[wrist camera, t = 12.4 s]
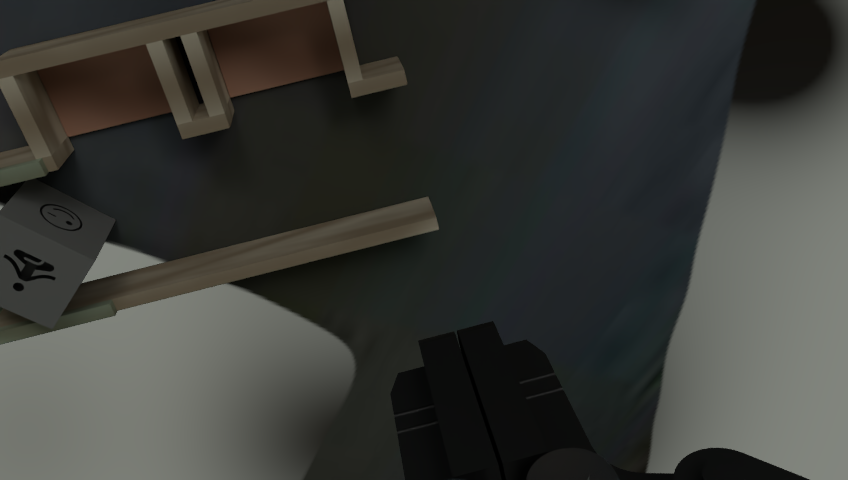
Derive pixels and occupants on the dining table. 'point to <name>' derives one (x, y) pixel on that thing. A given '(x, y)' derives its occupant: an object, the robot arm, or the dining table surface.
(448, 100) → the dining table surface
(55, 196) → the dice cube
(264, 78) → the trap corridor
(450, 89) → the dining table surface
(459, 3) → the dining table surface
